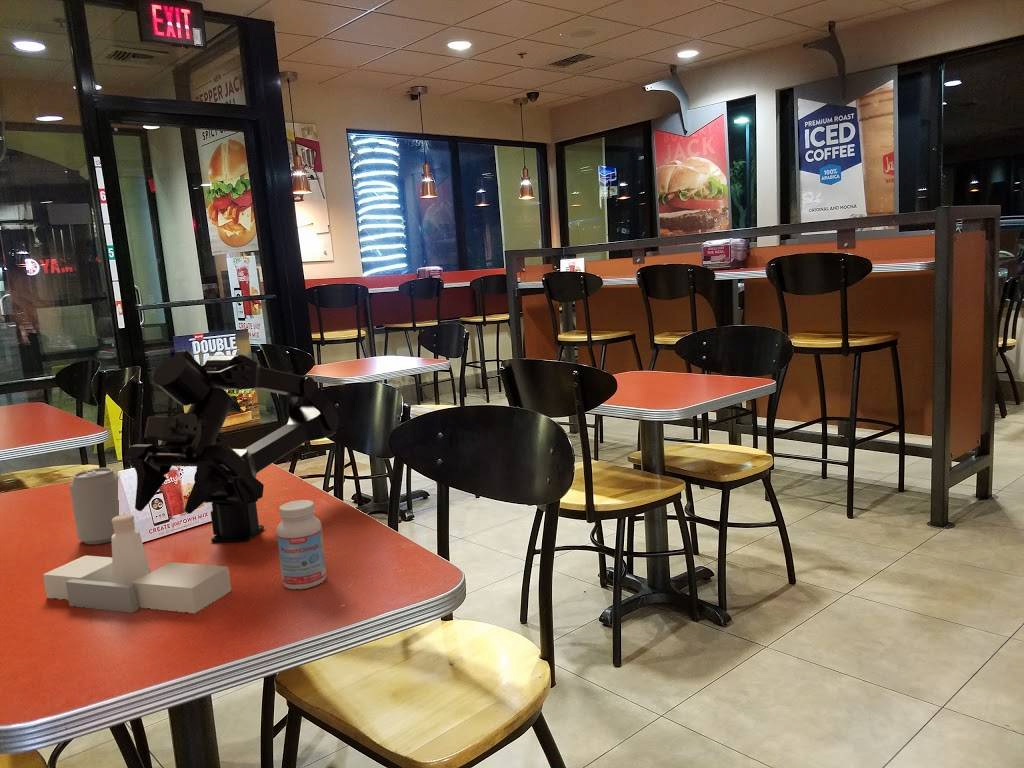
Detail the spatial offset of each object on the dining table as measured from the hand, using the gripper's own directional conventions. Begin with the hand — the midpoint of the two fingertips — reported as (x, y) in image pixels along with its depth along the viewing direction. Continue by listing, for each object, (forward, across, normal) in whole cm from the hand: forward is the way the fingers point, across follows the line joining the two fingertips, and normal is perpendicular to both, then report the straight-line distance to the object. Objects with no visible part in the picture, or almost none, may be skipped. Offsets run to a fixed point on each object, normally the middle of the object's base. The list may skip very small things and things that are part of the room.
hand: (162, 511), depth 112 cm
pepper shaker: (+12, 0, +2) cm, 12 cm away
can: (0, -24, +14) cm, 28 cm away
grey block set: (+13, +1, 0) cm, 13 cm away
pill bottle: (+7, +23, +7) cm, 25 cm away
